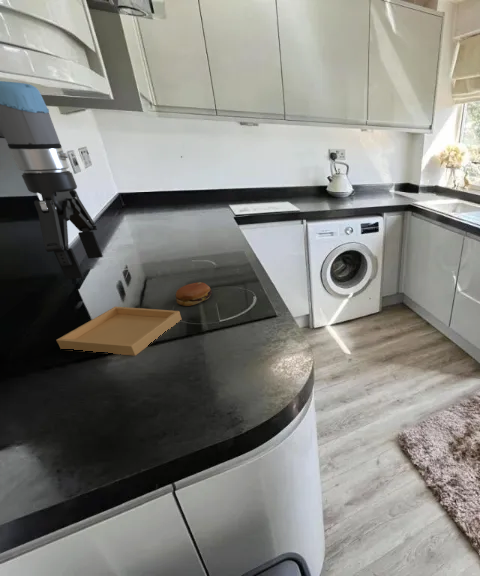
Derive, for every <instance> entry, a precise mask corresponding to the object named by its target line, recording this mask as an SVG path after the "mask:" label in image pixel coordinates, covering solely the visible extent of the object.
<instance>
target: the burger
mask: <svg viewBox="0 0 480 576" xmlns="http://www.w3.org/2000/svg"><path fill="white" fill-rule="evenodd" d="M212 292H213V291H212V289H211V287H210V286H209V285H208V284H206V283H205V282H201V281H197V282H192V283H188V284H185V285H183V286H181V287H179V288H178V289H177V290H176V293H175V300H176V304H178V305H179V306H182V307H183V306H184V307H191V306H196V305H198V304H201V303H203V302H205V301H206V300H208V299H209V298H210V297H211V295H212Z"/></svg>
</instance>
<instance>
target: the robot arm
mask: <svg viewBox="0 0 480 576" xmlns="http://www.w3.org/2000/svg"><path fill="white" fill-rule="evenodd" d="M0 139H5V141H6V143H7V147H8V148H9V151H10V154H11V156H12V158H13V161H14V163H15V165H16V168H17V169H18V171H23V172H22V174H21V177H22V179H23V182H24V184H25V186H26V189H27V191H29V193H32V194H39V195H41V199H42V200H34V201H33V204H34V206H35V209H36V212H37V215H38V221H39V225H40V230H41V236H42V240H43V244H44V245H43V246H44V250H45V251H46V252H47V253H49V252H51V253H52V252H53V254H54V255H55V258H56V259H57V262H58V264H59V266H60V268H61V270H62V273H63V275H64V277H65V279H66V281H68V280H75V279H83V278H84V277H85V276H84V274H83V271H82V269H81V267H80V263H79V262H78V260H77V258H76V255H75V253H74V250H73V248H72V247H71V248H69V246H70V245H69V231H68V230H69V229H68V222H71V223H72V224H73V226H74V227H75V228H76V229H77V230H78V231H79V232H78V233H77V234H78V237H79V239H80V241H81V244H82V247H83V249H84V252H85V253H86V256H87V258H88V259H98V258H103V257H104V255H103V253H102V251H101V247H100V245H99V243H98V240H97V237H96V235H95V232H94V231H98V227H97V225H95V224H96V223H95V222H94V220H93V218H92V217H91V214H90V213H89V212H88V210H87V209H86V207H85V205H84V204H83V202H82V201H81V199H80V196H79V194H78V192H77V188H78V185H77V183H76V179H75V178H74V177H75V176H74V175H73V172H72V171H70V170H67V169H69V168H70V166H69V163H68V160H67V159H68V158H69V155H68V153H66V152H64V150H63V148H62V147H63V146H62V144H61V141H60V139H59V136H58V133H57V131H56V128H55V125H54V122H53V120H52V117H51V115H50V109H49V108H48V106H47V104H46V102H45V99H44V98H43V96H42V94H41V91H40V90H39V89H38V88H37V87H36V86H34V85H32V84H29V83H24V82H18V81H17V82H16V81H3V80H0Z"/></svg>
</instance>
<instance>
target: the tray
mask: <svg viewBox="0 0 480 576" xmlns="http://www.w3.org/2000/svg"><path fill="white" fill-rule="evenodd" d="M180 320H181V321H182V315H181V312H180V310H171V309H168V310H167V309H155V308H142V307H141V308H140V307H128V306H127V307H125V306H114V307H112V308H110V309H108V310H106V311H105V312H103V313H101V314H99V315H98V316H96V317H94V318H92V319H91V320H89V321H88V322H85V323H84V324H82V325H80V326H78V327H76V328H75V329H73V330H71V331H69V332H68V333H65V334H64V335H63V336H61V337H59V338H57V339H56V343H57V344H58V346H59V348H60V350H61V349H74V350H83V351H82V352H85V351H93V352H92V353H96V352H108V353H113V354H112V355H120V354H121V356H133V357H136V356H137V355H138V354H139V353H141V352H142V351H144V350H145V349H146V348H147V347H149V346H150V345H151V344H152V343H154V342H155V341H156V340H158V339H159V338H160V337H161V336H163V335H164V334H165V333H166V332H168V331H169V330H171V329H172V328H173V327H174V326H175V325H177V324H178V323H179V322H181V321H180ZM176 323H177V324H176ZM171 327H172V328H171ZM168 329H169V330H168ZM167 330H168V331H167ZM165 331H166V332H165ZM164 332H165V333H164ZM163 333H164V334H163ZM162 334H163V335H162ZM160 335H161V336H160ZM159 336H160V337H159ZM158 337H159V338H158ZM155 339H156V340H155ZM154 340H155V341H154ZM153 341H154V342H153ZM151 342H152V343H151ZM150 343H151V344H150ZM149 344H150V345H149ZM148 345H149V346H148ZM108 353H107V354H108Z"/></svg>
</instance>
